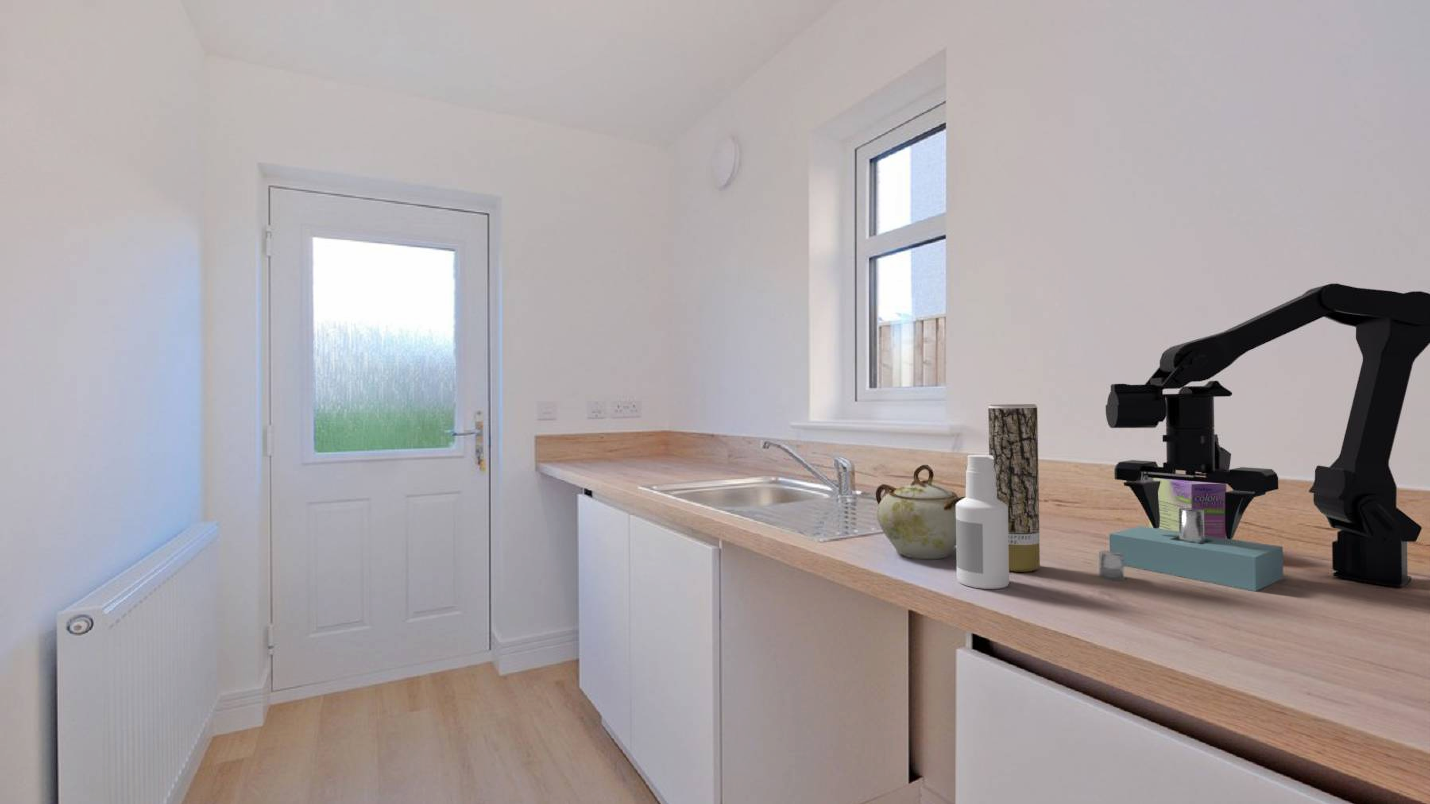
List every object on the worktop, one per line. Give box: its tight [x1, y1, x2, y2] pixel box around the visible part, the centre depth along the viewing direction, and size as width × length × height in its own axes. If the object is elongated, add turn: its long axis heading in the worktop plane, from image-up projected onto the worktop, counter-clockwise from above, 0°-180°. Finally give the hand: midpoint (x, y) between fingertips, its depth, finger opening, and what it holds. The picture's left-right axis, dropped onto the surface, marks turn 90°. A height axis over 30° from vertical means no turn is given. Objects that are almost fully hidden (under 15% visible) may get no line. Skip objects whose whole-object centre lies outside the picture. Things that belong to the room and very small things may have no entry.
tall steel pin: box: [1179, 508, 1204, 544], centre depth 93 cm, size 3×3×9 cm
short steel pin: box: [1098, 550, 1125, 581], centre depth 90 cm, size 3×3×4 cm
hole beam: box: [1109, 525, 1284, 592], centre depth 93 cm, size 18×10×4 cm, turn 32°
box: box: [1148, 478, 1227, 538], centre depth 105 cm, size 10×6×12 cm, turn 179°
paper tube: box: [987, 403, 1041, 573], centre depth 96 cm, size 7×7×25 cm
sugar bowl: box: [875, 464, 966, 560], centre depth 106 cm, size 20×15×15 cm
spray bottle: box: [955, 454, 1010, 590], centre depth 89 cm, size 7×7×18 cm
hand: (1191, 533), depth 93 cm, fingers open, 9 cm apart
